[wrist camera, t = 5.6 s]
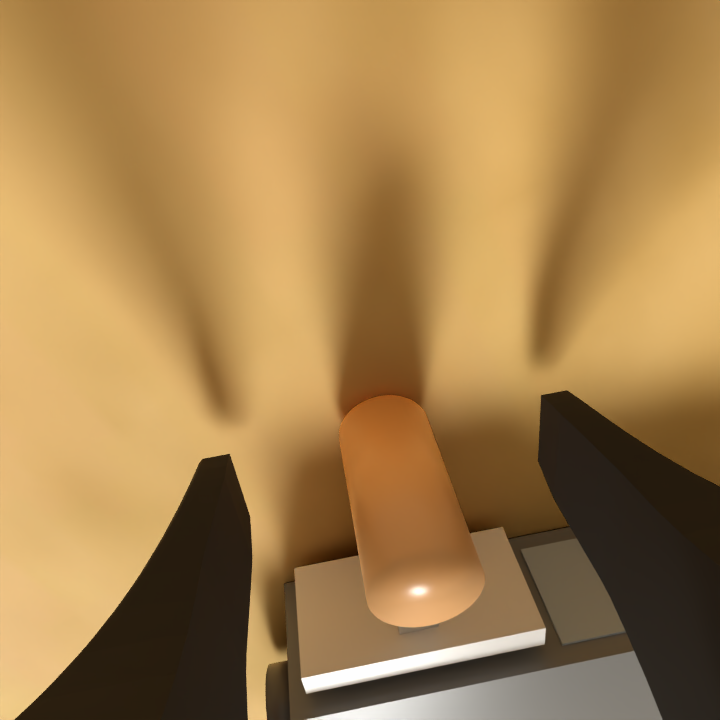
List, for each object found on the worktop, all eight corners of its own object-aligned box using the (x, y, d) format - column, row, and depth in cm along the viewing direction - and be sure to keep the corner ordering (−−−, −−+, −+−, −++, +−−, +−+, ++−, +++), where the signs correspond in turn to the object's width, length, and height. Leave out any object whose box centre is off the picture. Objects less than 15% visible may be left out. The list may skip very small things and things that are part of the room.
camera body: (737, 491, 19) (839, 606, 16) (696, 626, 23) (770, 740, 20) (249, 588, 18) (248, 729, 15) (293, 710, 22) (300, 843, 19)
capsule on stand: (503, 370, 15) (590, 517, 11) (502, 542, 18) (568, 700, 14) (250, 417, 14) (249, 585, 11) (298, 583, 18) (310, 755, 14)
